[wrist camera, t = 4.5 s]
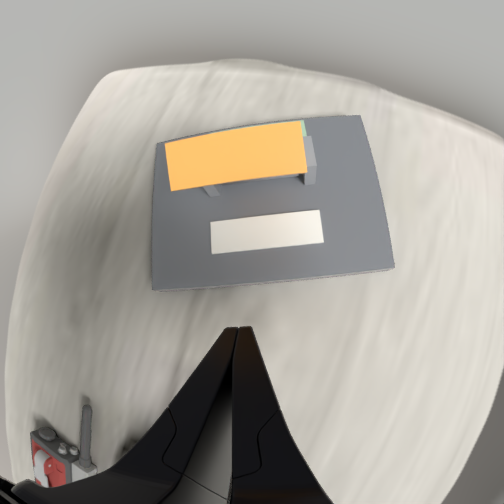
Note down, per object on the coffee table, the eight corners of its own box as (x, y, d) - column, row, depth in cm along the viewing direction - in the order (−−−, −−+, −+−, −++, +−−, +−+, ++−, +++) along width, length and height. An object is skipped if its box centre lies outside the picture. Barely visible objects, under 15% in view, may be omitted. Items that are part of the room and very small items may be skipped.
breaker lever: (297, 176, 22) (310, 171, 11) (224, 185, 22) (168, 191, 11) (294, 150, 21) (302, 120, 10) (221, 159, 22) (162, 144, 11)
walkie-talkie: (99, 526, 19) (104, 407, 22) (81, 541, 15) (75, 418, 18) (48, 490, 21) (46, 369, 24) (28, 501, 17) (17, 373, 20)
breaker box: (388, 270, 21) (408, 260, 16) (160, 291, 23) (132, 286, 19) (357, 124, 23) (365, 93, 19) (163, 151, 26) (142, 126, 22)
